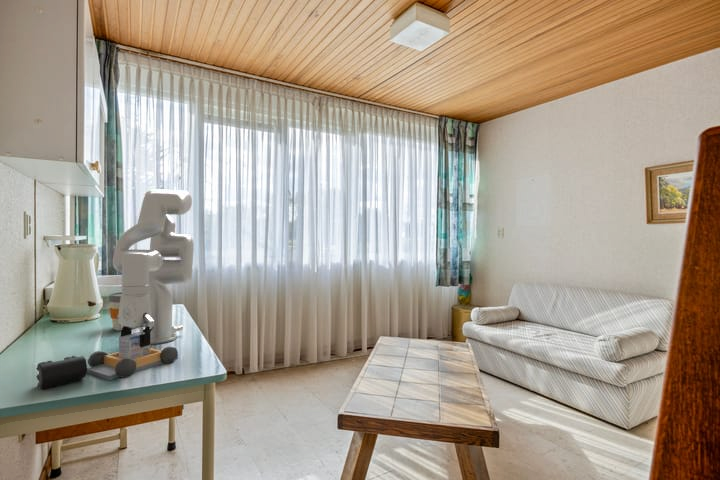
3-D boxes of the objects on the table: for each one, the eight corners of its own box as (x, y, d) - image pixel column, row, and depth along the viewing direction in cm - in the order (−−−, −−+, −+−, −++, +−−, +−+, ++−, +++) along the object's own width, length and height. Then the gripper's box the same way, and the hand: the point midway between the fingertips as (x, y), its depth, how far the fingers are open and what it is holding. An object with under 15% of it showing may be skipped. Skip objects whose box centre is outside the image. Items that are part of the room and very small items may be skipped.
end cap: (42, 393, 98) (42, 367, 98) (34, 386, 103) (34, 361, 103) (87, 381, 106) (87, 358, 106) (78, 375, 111) (78, 352, 111)
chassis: (151, 352, 134) (151, 337, 133) (181, 359, 126) (181, 344, 126) (82, 371, 114) (82, 354, 114) (113, 381, 107) (113, 364, 107)
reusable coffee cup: (111, 332, 158) (111, 297, 158) (105, 327, 167) (106, 293, 167) (144, 328, 166) (145, 294, 166) (138, 322, 176) (138, 290, 176)
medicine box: (129, 366, 116) (129, 338, 116) (118, 364, 117) (118, 336, 117) (150, 358, 123) (151, 332, 123) (140, 356, 124) (140, 330, 124)
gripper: (107, 289, 121) (107, 342, 121) (141, 294, 113) (140, 351, 113) (130, 286, 127) (130, 336, 128) (164, 291, 119) (163, 344, 120)
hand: (135, 343), depth 121 cm, fingers open, 9 cm apart
